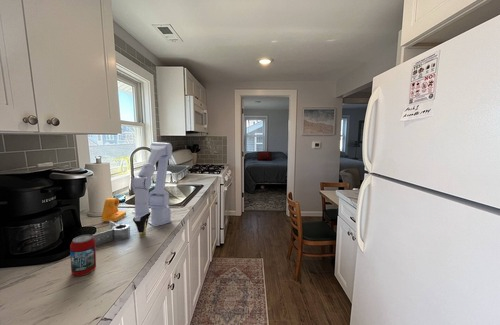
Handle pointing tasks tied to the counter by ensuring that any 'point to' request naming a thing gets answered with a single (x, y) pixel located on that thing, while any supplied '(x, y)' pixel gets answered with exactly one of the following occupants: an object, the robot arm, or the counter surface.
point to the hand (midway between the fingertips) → (142, 230)
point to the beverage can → (83, 255)
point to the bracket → (112, 210)
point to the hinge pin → (144, 230)
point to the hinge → (112, 233)
